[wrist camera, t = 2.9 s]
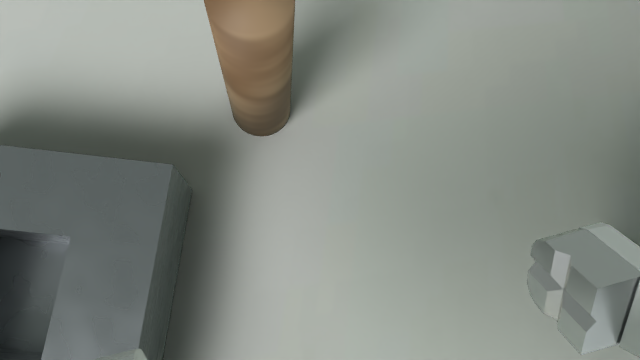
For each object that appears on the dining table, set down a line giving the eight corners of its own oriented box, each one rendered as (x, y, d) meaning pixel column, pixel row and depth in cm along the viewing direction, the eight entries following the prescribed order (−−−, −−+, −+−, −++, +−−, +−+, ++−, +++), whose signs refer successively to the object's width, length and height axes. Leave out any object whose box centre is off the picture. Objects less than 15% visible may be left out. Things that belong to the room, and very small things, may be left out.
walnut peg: (293, 86, 26) (299, -40, 17) (286, 139, 25) (289, 38, 16) (236, 79, 26) (210, -52, 17) (228, 132, 25) (196, 26, 16)
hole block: (192, 189, 24) (172, 164, 20) (147, 443, 21) (113, 479, 17) (-44, 163, 24) (-117, 131, 19) (-127, 421, 20) (-237, 452, 16)
